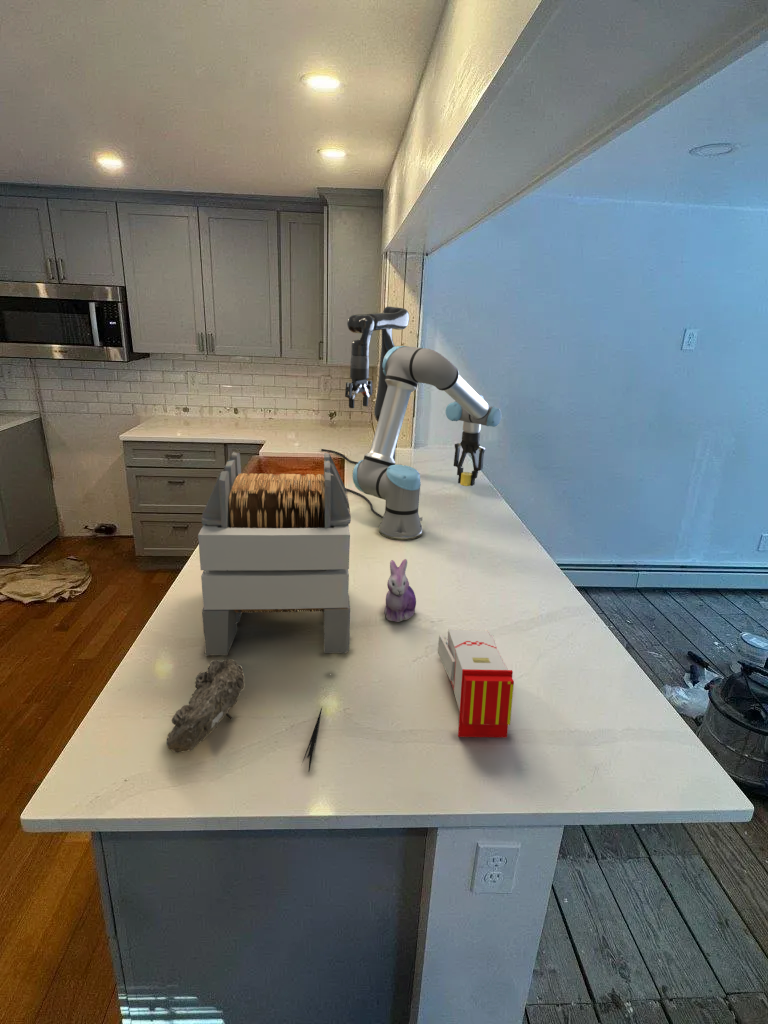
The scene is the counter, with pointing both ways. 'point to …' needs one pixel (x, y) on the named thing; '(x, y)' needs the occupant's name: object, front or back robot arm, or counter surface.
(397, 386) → the front robot arm
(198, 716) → the fossil
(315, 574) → the record crate
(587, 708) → the counter surface
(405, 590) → the figurine
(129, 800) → the counter surface
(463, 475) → the cylinder
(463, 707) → the toy
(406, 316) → the back robot arm
